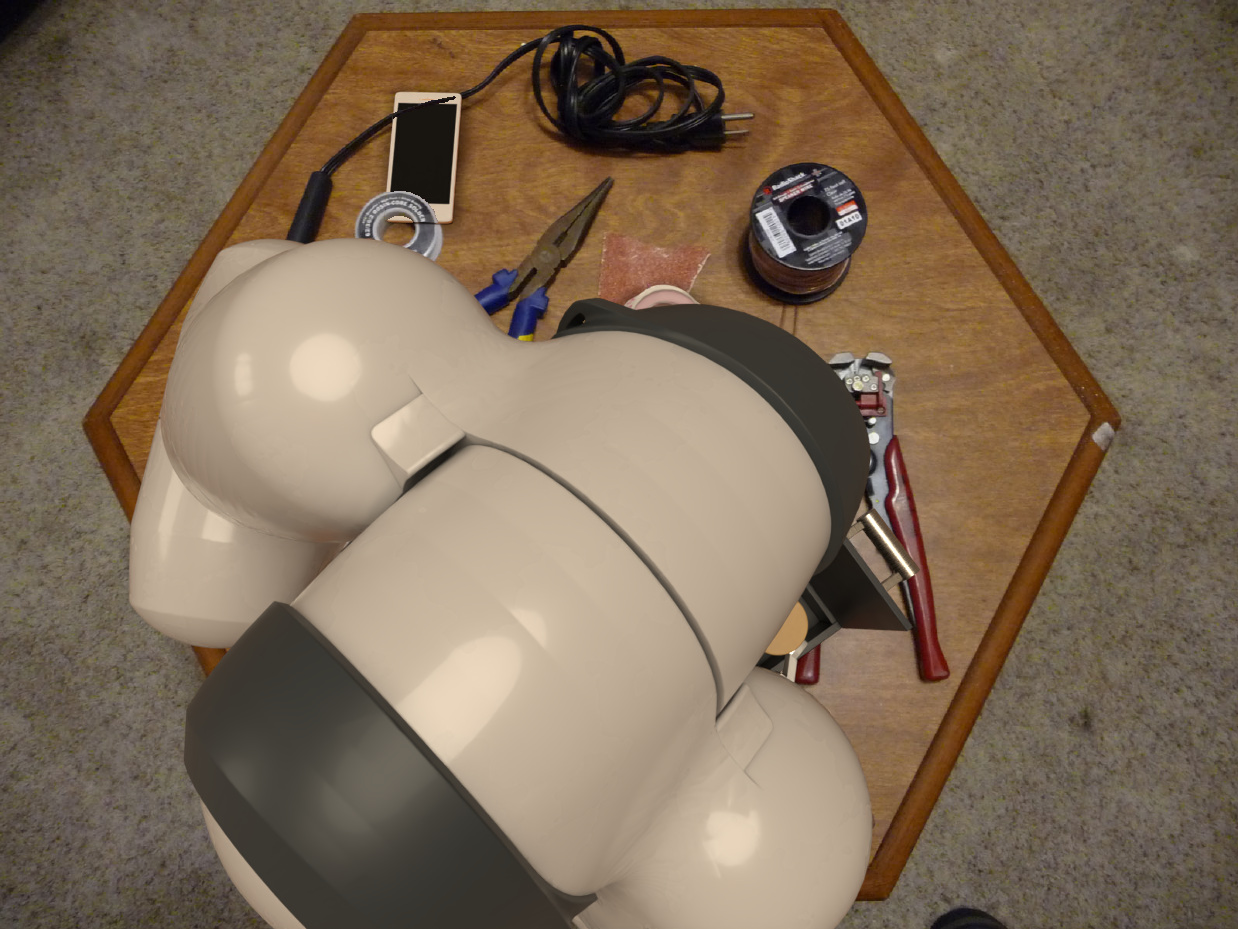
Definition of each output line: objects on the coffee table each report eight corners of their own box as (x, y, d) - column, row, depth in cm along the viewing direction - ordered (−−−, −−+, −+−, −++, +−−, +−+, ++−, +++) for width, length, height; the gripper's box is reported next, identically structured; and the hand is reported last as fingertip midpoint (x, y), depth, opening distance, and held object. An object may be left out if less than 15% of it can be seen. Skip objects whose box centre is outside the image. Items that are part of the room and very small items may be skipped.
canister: (723, 637, 71) (741, 648, 59) (732, 586, 72) (751, 586, 60) (775, 647, 71) (803, 661, 59) (783, 595, 71) (812, 598, 60)
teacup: (733, 370, 81) (741, 354, 75) (632, 410, 81) (632, 396, 75) (691, 275, 83) (696, 251, 77) (592, 313, 83) (589, 292, 76)
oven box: (722, 699, 76) (729, 709, 70) (657, 604, 77) (659, 606, 72) (828, 623, 77) (844, 626, 71) (762, 531, 78) (772, 527, 73)
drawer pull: (907, 631, 57) (952, 597, 57) (816, 507, 58) (861, 475, 59) (842, 628, 71) (879, 601, 71) (770, 529, 72) (807, 503, 73)
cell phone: (385, 222, 85) (383, 219, 84) (396, 94, 87) (395, 91, 86) (452, 223, 84) (451, 221, 84) (462, 96, 87) (461, 92, 86)
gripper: (772, 834, 59) (877, 697, 60) (579, 662, 61) (685, 535, 63) (759, 809, 65) (855, 687, 67) (584, 655, 68) (680, 539, 69)
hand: (771, 612), depth 65 cm, fingers closed on canister, 5 cm apart
